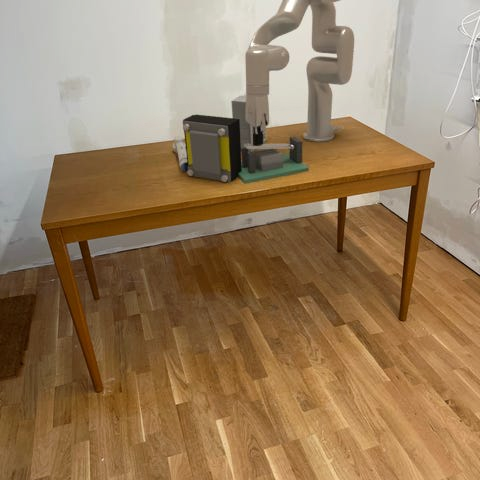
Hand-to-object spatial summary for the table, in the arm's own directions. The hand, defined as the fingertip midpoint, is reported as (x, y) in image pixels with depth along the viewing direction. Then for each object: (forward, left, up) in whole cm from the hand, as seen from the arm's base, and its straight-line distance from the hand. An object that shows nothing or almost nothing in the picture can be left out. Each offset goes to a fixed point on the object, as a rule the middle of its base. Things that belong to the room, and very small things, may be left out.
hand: (258, 144), depth 160 cm
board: (-4, 0, -10) cm, 11 cm away
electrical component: (+15, -4, -11) cm, 19 cm away
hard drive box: (-8, -26, -10) cm, 29 cm away
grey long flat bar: (-4, 0, -2) cm, 5 cm away
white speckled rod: (+21, -24, -10) cm, 34 cm away
